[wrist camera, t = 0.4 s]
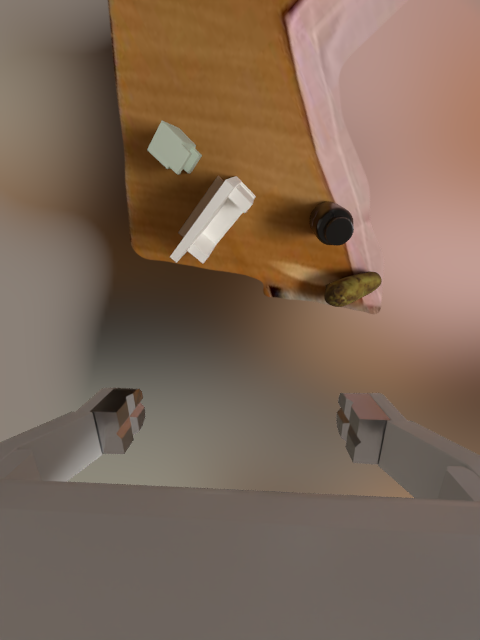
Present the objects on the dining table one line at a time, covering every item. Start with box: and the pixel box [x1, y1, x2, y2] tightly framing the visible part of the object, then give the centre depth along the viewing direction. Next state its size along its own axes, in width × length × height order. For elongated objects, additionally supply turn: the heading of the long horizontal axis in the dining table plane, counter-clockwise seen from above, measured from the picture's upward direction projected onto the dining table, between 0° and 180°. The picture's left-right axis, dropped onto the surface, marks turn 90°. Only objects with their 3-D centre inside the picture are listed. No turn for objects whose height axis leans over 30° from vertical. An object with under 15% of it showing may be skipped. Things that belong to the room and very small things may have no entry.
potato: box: [325, 272, 381, 307], centre depth 55 cm, size 8×13×8 cm, turn 88°
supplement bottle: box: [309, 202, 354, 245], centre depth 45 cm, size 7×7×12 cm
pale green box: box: [147, 121, 202, 174], centre depth 42 cm, size 5×7×9 cm
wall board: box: [170, 176, 256, 263], centre depth 45 cm, size 16×8×16 cm, turn 138°
